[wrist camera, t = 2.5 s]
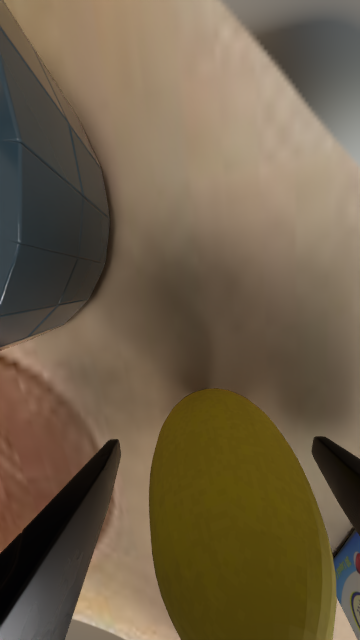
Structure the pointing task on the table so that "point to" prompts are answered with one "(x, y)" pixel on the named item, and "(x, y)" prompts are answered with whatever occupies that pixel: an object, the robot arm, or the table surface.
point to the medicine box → (349, 580)
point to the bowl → (44, 197)
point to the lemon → (237, 527)
